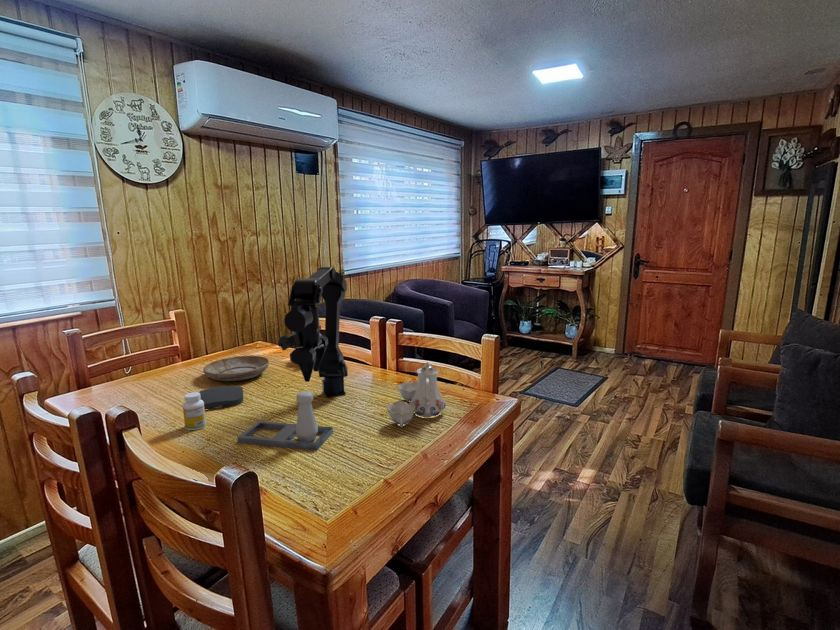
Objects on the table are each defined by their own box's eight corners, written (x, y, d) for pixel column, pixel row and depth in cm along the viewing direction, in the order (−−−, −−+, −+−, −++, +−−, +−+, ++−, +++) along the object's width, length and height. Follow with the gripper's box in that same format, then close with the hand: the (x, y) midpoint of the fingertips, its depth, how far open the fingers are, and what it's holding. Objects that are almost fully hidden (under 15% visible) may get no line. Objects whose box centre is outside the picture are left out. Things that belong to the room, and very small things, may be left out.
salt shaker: (317, 443, 118) (315, 396, 115) (295, 445, 117) (291, 397, 114) (319, 433, 123) (316, 388, 121) (297, 434, 122) (294, 389, 120)
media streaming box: (197, 396, 152) (196, 388, 151) (243, 391, 157) (242, 382, 156) (192, 413, 138) (191, 404, 138) (243, 406, 143) (242, 397, 143)
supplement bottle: (190, 423, 130) (186, 391, 129) (209, 422, 131) (205, 390, 129) (182, 431, 125) (178, 398, 123) (202, 430, 126) (198, 397, 124)
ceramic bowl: (247, 363, 188) (246, 352, 187) (282, 373, 174) (281, 361, 173) (192, 378, 170) (190, 366, 169) (227, 391, 156) (226, 377, 155)
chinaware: (396, 400, 151) (390, 352, 148) (446, 395, 150) (440, 347, 147) (387, 438, 123) (379, 381, 120) (447, 433, 122) (441, 375, 119)
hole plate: (237, 442, 118) (237, 437, 118) (259, 425, 128) (259, 420, 128) (316, 450, 114) (316, 445, 113) (332, 432, 124) (332, 427, 123)
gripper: (291, 317, 137) (294, 366, 140) (268, 331, 119) (273, 387, 122) (327, 317, 137) (329, 366, 140) (310, 331, 118) (313, 387, 121)
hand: (311, 376), depth 131 cm, fingers open, 9 cm apart
